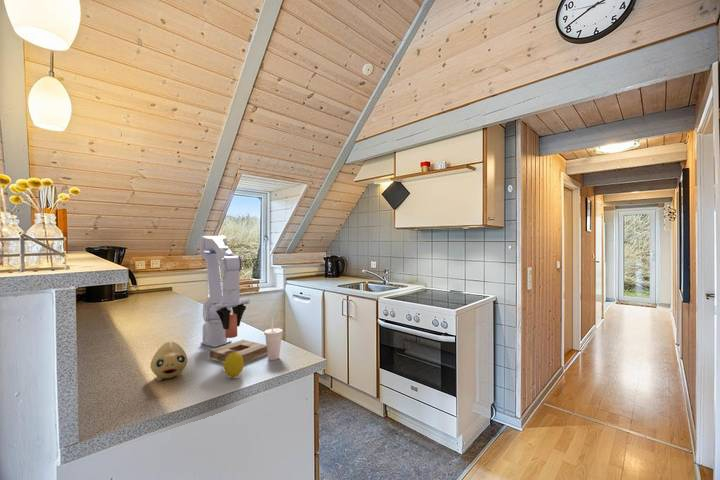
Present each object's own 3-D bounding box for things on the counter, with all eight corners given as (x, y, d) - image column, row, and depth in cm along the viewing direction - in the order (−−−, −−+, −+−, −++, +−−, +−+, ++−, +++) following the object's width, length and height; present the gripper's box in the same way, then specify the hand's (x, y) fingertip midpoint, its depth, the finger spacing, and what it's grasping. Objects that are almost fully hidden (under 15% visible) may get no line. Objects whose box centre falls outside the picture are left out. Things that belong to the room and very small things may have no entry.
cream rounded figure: (150, 390, 91) (149, 352, 91) (150, 375, 101) (150, 341, 101) (189, 381, 96) (189, 345, 96) (186, 368, 106) (186, 335, 106)
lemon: (232, 383, 95) (231, 356, 94) (220, 379, 97) (220, 352, 97) (247, 376, 99) (247, 350, 99) (236, 372, 102) (235, 347, 102)
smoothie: (260, 359, 113) (260, 319, 113) (273, 353, 119) (272, 315, 119) (274, 362, 110) (274, 321, 110) (286, 356, 116) (286, 317, 116)
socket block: (209, 358, 114) (209, 350, 114) (242, 347, 126) (242, 339, 126) (235, 366, 107) (235, 357, 107) (268, 353, 119) (268, 345, 119)
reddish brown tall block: (222, 337, 116) (222, 314, 116) (232, 334, 119) (231, 312, 119) (230, 338, 114) (230, 315, 114) (239, 335, 117) (239, 313, 117)
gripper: (219, 293, 108) (220, 334, 108) (254, 287, 120) (255, 324, 120) (207, 291, 112) (207, 331, 112) (242, 286, 124) (242, 321, 124)
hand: (231, 327), depth 116 cm, fingers closed on reddish brown tall block, 4 cm apart
